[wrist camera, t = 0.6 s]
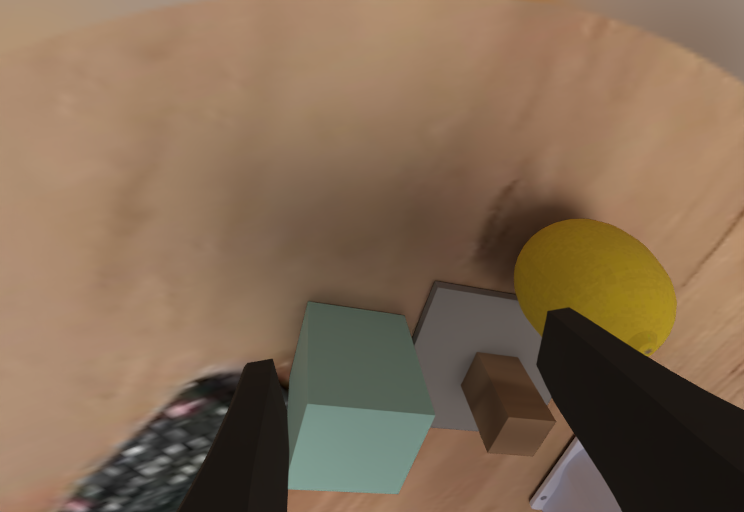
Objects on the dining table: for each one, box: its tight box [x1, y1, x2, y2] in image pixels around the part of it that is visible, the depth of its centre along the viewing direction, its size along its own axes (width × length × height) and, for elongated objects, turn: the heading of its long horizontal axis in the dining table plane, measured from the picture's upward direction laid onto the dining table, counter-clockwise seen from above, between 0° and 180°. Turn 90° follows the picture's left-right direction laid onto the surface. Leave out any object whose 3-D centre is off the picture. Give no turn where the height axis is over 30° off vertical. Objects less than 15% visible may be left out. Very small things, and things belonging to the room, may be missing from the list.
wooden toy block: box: [461, 352, 556, 456], centre depth 23 cm, size 3×3×4 cm
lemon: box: [514, 219, 677, 357], centre depth 19 cm, size 6×6×8 cm
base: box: [412, 281, 552, 431], centre depth 26 cm, size 10×10×1 cm
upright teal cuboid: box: [287, 301, 435, 494], centre depth 21 cm, size 5×5×7 cm
